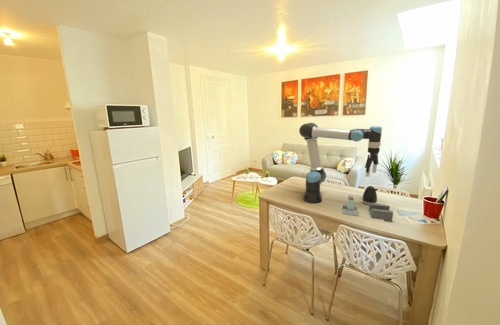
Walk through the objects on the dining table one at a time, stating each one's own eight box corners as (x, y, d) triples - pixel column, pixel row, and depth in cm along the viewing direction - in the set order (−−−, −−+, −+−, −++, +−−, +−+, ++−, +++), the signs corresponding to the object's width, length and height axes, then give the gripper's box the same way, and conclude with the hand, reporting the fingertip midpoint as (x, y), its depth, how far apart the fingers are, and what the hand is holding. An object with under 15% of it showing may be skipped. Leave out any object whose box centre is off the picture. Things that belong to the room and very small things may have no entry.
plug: (347, 212, 149) (348, 197, 146) (346, 209, 154) (347, 194, 151) (353, 213, 148) (354, 198, 145) (352, 210, 152) (354, 195, 149)
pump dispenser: (371, 208, 156) (373, 189, 153) (359, 203, 165) (360, 185, 162) (379, 205, 161) (381, 186, 157) (367, 200, 170) (368, 183, 166)
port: (371, 218, 141) (372, 209, 140) (368, 211, 152) (369, 202, 151) (392, 221, 137) (393, 211, 135) (387, 213, 148) (388, 204, 146)
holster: (342, 215, 148) (343, 210, 147) (342, 209, 157) (342, 204, 156) (358, 217, 144) (358, 212, 143) (356, 210, 153) (357, 205, 152)
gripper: (373, 150, 143) (370, 179, 148) (385, 145, 159) (381, 171, 164) (361, 149, 148) (359, 177, 154) (374, 144, 164) (371, 170, 169)
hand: (370, 174), depth 159 cm, fingers open, 13 cm apart
